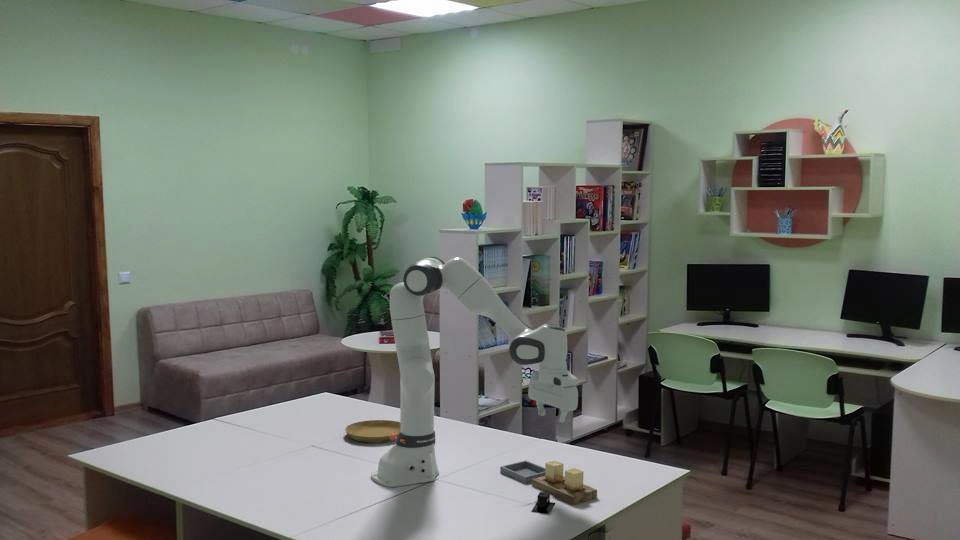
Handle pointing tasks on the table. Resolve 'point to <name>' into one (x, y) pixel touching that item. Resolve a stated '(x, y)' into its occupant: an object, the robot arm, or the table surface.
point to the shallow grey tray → (523, 471)
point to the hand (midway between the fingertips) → (551, 418)
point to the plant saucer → (373, 430)
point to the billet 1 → (554, 472)
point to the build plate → (543, 504)
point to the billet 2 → (574, 480)
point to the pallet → (565, 491)
